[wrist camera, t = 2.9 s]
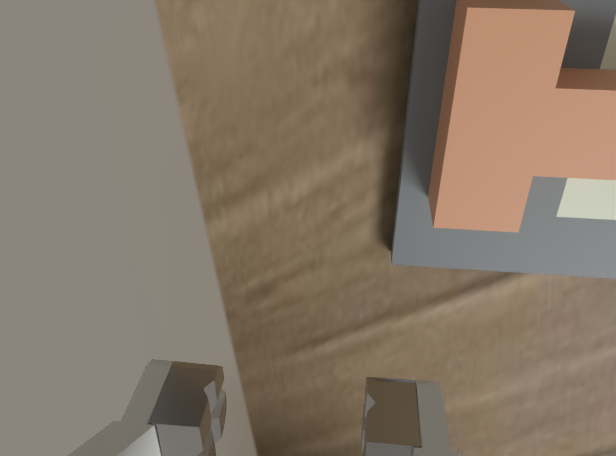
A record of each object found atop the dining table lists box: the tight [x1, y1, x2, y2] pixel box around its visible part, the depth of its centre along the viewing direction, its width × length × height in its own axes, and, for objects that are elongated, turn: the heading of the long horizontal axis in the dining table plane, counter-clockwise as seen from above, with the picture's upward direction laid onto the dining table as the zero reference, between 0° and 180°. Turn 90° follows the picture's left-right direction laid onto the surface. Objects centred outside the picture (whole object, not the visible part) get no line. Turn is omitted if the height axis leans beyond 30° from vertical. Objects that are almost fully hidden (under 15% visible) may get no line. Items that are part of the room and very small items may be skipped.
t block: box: [428, 0, 616, 233], centre depth 25 cm, size 10×10×3 cm
